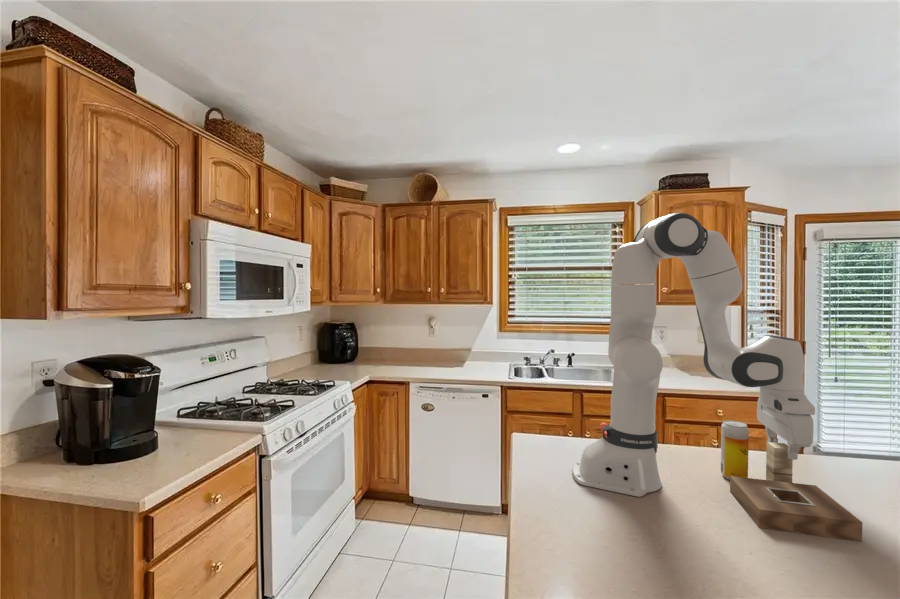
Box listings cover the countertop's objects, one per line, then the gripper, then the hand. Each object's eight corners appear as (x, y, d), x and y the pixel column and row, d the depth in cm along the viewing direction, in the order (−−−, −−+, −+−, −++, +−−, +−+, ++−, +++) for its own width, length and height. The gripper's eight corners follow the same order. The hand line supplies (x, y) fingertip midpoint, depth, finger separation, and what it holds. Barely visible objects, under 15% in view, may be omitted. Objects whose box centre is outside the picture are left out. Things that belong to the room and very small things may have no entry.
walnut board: (758, 527, 87) (759, 508, 87) (729, 491, 103) (730, 475, 103) (862, 541, 82) (862, 521, 82) (815, 501, 98) (815, 484, 98)
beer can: (752, 484, 107) (753, 427, 106) (726, 481, 108) (727, 426, 107) (740, 473, 113) (741, 420, 112) (716, 471, 114) (717, 419, 113)
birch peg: (773, 490, 103) (774, 447, 103) (765, 482, 107) (766, 441, 107) (792, 492, 102) (793, 449, 102) (783, 484, 106) (784, 443, 106)
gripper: (749, 387, 115) (750, 435, 115) (787, 408, 95) (787, 466, 96) (775, 388, 113) (776, 437, 114) (819, 410, 94) (820, 469, 94)
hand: (781, 451), depth 105 cm, fingers open, 8 cm apart
